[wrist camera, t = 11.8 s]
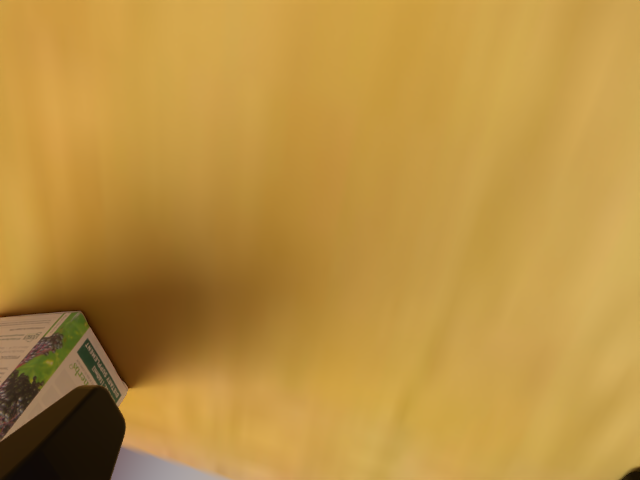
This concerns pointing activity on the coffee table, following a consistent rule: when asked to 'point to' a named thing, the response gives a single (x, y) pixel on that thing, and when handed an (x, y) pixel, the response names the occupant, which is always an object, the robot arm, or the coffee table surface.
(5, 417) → the syrup box
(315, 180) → the coffee table surface
